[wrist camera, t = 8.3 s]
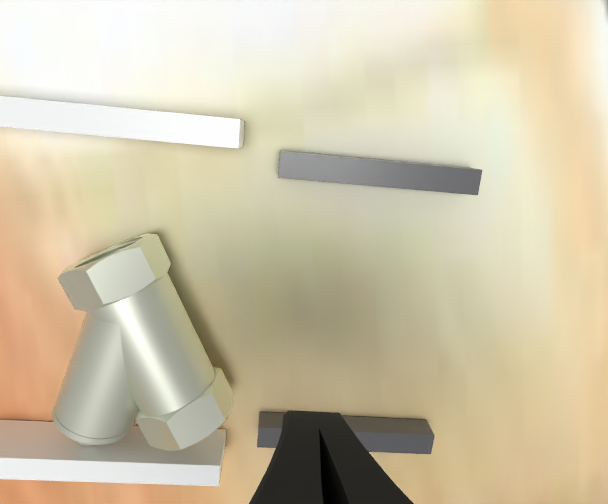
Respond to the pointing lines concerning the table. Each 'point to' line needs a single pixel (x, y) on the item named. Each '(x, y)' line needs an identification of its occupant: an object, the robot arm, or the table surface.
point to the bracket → (133, 447)
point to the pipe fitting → (136, 354)
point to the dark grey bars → (383, 173)
